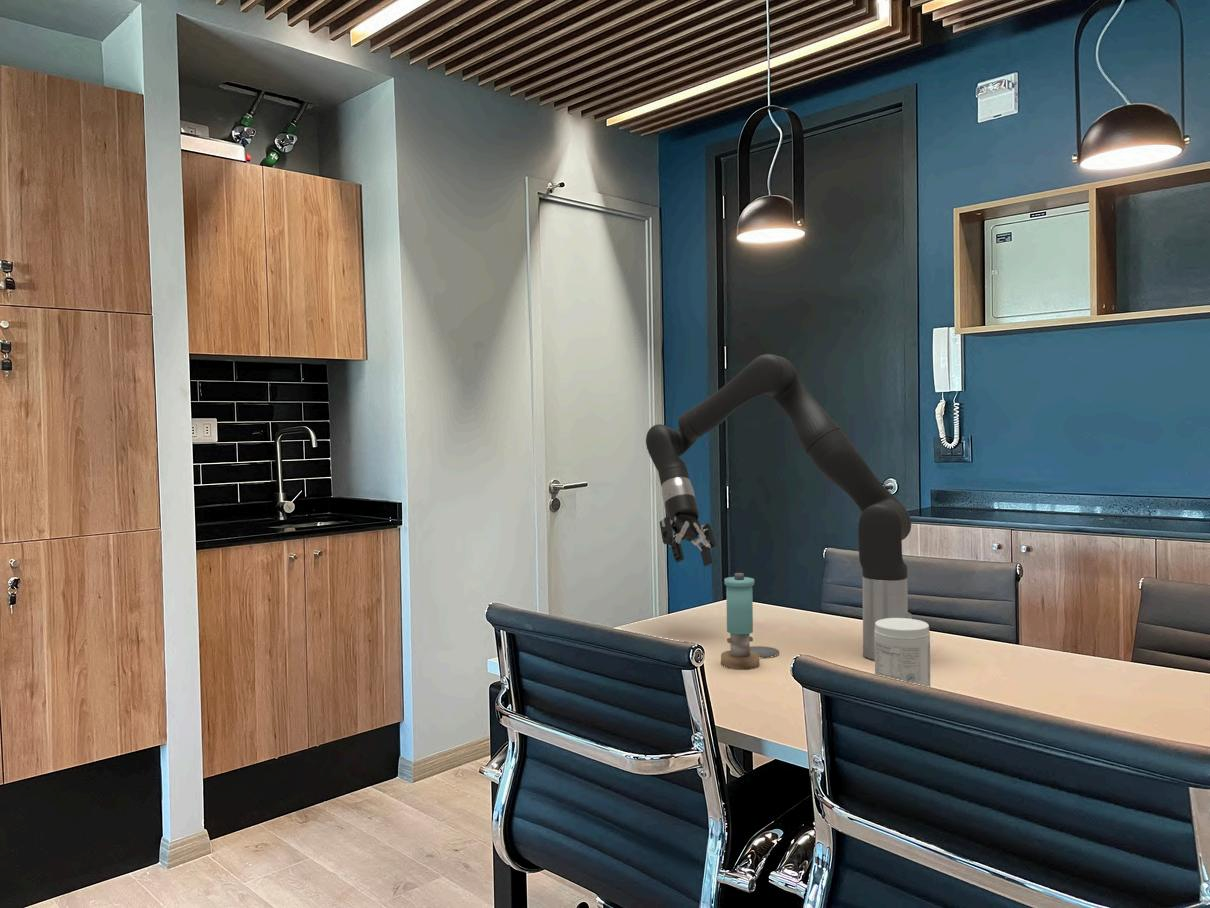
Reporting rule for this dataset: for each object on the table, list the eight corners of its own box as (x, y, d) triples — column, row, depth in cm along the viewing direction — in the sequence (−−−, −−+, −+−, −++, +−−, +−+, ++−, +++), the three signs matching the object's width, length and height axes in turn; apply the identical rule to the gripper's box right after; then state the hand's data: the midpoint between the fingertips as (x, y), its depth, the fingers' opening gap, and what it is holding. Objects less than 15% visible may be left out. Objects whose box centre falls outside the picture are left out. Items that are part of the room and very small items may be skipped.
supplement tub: (894, 693, 169) (894, 614, 169) (941, 704, 162) (941, 623, 162) (863, 703, 163) (863, 622, 163) (911, 716, 156) (910, 631, 155)
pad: (770, 647, 204) (770, 645, 204) (785, 656, 196) (784, 653, 196) (736, 650, 202) (736, 647, 202) (750, 659, 195) (750, 656, 194)
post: (750, 658, 196) (750, 625, 195) (765, 667, 188) (765, 634, 188) (715, 660, 194) (715, 628, 194) (729, 670, 186) (728, 637, 186)
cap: (748, 627, 194) (747, 570, 194) (759, 633, 188) (758, 575, 188) (720, 629, 193) (720, 572, 192) (731, 635, 187) (730, 576, 186)
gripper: (666, 488, 208) (680, 552, 200) (712, 497, 216) (727, 559, 208) (646, 503, 213) (660, 566, 205) (692, 511, 221) (707, 572, 213)
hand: (694, 562), depth 207 cm, fingers open, 8 cm apart
